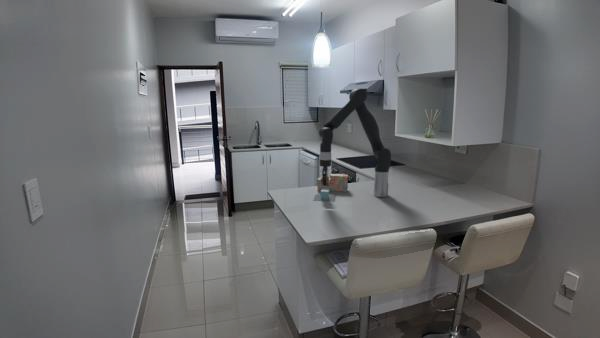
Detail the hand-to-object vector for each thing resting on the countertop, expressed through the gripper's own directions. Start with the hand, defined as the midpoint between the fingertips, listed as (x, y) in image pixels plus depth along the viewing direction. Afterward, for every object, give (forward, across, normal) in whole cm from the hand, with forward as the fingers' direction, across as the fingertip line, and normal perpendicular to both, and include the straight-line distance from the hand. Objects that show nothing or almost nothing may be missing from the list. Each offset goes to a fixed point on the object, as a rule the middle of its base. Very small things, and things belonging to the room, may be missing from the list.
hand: (324, 184), depth 214 cm
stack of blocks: (+11, +21, -4) cm, 24 cm away
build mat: (+10, 0, 0) cm, 10 cm away
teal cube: (+9, 0, 0) cm, 9 cm away
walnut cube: (0, 0, 0) cm, 0 cm away
